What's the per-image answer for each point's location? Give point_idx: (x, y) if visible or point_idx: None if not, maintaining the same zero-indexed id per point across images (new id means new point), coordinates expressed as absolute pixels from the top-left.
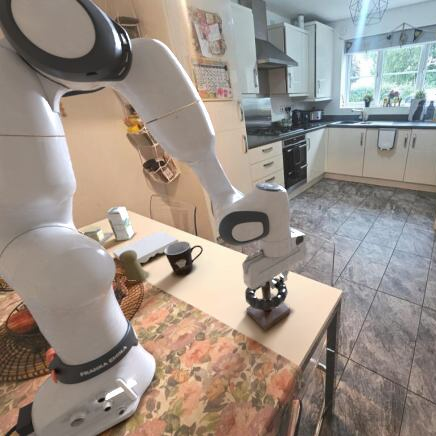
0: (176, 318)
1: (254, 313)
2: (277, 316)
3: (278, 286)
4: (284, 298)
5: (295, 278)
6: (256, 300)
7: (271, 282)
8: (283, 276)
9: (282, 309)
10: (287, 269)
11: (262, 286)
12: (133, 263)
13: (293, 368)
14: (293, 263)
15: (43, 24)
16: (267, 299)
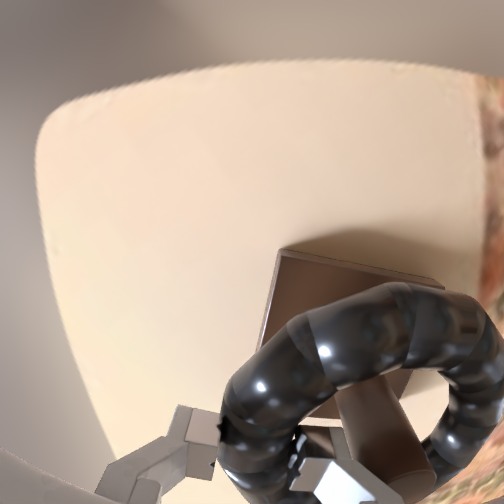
0: (457, 490)
1: (402, 379)
2: (371, 278)
3: (304, 418)
4: (390, 292)
5: (74, 356)
6: (495, 416)
7: (377, 486)
8: (197, 455)
9: (314, 287)
10: (138, 494)
11: (433, 485)
12: None
13: (488, 80)
14: (33, 499)
15: None
16: (472, 380)
